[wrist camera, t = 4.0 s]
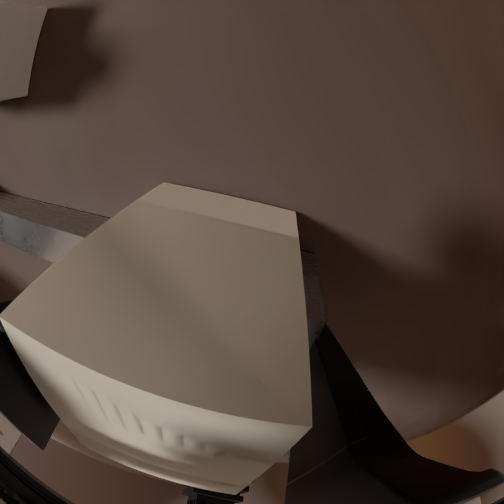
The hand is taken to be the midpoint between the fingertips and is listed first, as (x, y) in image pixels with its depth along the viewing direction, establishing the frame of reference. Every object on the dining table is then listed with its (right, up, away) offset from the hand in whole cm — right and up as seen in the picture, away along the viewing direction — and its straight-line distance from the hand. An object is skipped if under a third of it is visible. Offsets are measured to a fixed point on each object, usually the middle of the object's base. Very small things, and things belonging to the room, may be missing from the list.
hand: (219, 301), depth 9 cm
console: (-12, +12, -2) cm, 17 cm away
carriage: (0, +1, +2) cm, 2 cm away
